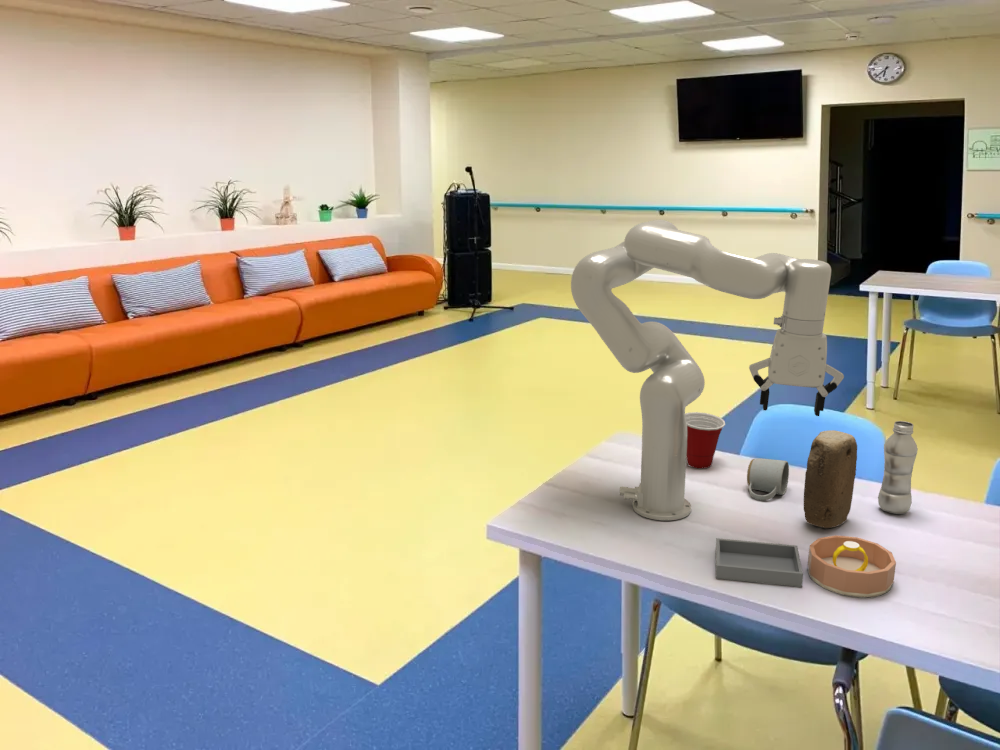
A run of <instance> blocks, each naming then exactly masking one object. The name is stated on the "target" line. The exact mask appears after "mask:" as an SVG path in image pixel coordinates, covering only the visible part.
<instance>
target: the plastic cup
mask: <svg viewBox="0 0 1000 750" xmlns="http://www.w3.org/2000/svg"><path fill="white" fill-rule="evenodd" d="M685 417H686V422H687V456H686V463H687V465H688V466H689V467H690V468H695V469H709V468H710V467H711V466H712V464H713V460H714V456H715V454H716V450H717V446H718V442H719V438H720V434H721V433H722V430H723V429H724V427H725V426H726V422H725V420H724V419H723V418H721V417H719V416H717V415H715V414H711V413H707V412H698V411H692V412H685Z"/></svg>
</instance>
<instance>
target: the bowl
mask: <svg viewBox="0 0 1000 750" xmlns="http://www.w3.org/2000/svg"><path fill="white" fill-rule="evenodd" d="M846 541H853V542H856V543H858V544H859V545H860V547H861V548H863V550H864V551H865V553H866V555H867V557H868V566H867V567H866V569H865V571H854V570H857V569H858V568H860V567H861V566H862V564H863V563H864V554H863V553H862V552H860V551H859V550H858V551H848V550H844V551H842V552H841V553H840V554H839V555H838V556H837V559H836V565H837V566H838V567H837V566H834V563H833V561H832V558H833V553H834V552H835V551H836V550H837V548H839V547H840V546H842V545H843V544H844V542H846ZM896 565H897V562H896V559H895V557H894V555H893V552H892V551H890V550H889V549H888V548H887V549H886V548H885V547H884V546H882V545H881V544H879V543H877V542H874V541H871V540H867V539H865V538H861V537H858V536H847V535H836V534H835V535H829V536H824V537H818V538H817V539H816V540H814V541H813V542H812V543H810V544H809V548H808V559H807V567H808V569H807V571H808V575H809V577H810V579H811V580H812V581H813V582H814V583H815V584H817V585H818V586H819V587H822V588H823V589H825V590H827V591H830V592H832V593H835V594H838V595H842V596H846V597H852V598H853V597H854V598H873V597H874V598H875V597H879V596H882V595H884V594H887V593H888V592H889V591H890V590H891V588H892V585H893V584H894V583H895V573H896Z"/></svg>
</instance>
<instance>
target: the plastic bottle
mask: <svg viewBox="0 0 1000 750" xmlns="http://www.w3.org/2000/svg"><path fill="white" fill-rule="evenodd" d="M892 432H893V433H892V434H891V435H890V436H889V437H887V439H886V440H885V442H884V444H883V454H884V455H883V456H884V457H883V458H884V463H883V464H884V466H883V468H884V469H883V477H882V482H881V486H880V489H879V493H878V495H877V500H878V501H877V502H878V506H879V507H880V509H881V510H883V511H885V512H887V513H890V514H895V515H903V514H904V515H905V514H906V513H907V512H909V511H910V509H911V507H912V503H913V502H912V501H913V500H912V499H913V498H912V477H913V476H912V475H913V474H912V473H913V471H914V470H913V469H914V465H915V462H916V458H917V455H918V449H919V448H918V445H917V442H916V440H915V439H914V437H913V436H912V435H913V434H914V424H913V423H912V422H909V421H904V420H897V421H894V424H893V427H892Z"/></svg>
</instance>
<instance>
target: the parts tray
mask: <svg viewBox="0 0 1000 750" xmlns="http://www.w3.org/2000/svg"><path fill="white" fill-rule="evenodd" d="M803 571H804V570H803V565H802V560H801V556H800V552H799V546H798V545H795V544H783V543H775V542H774V543H773V542H761V541H752V540H751V541H750V540H738V539H728V538H719V537H718V538H715V579H717V580H726V581H727V580H728V581H737V582H738V581H739V582H748V583H754V584H755V583H756V584H766V585H767V584H768V585H776V586H777V585H778V586H785V587H786V586H787V587H788V586H790V587H797V588H803V581H804V580H803V579H804V572H803Z"/></svg>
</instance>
